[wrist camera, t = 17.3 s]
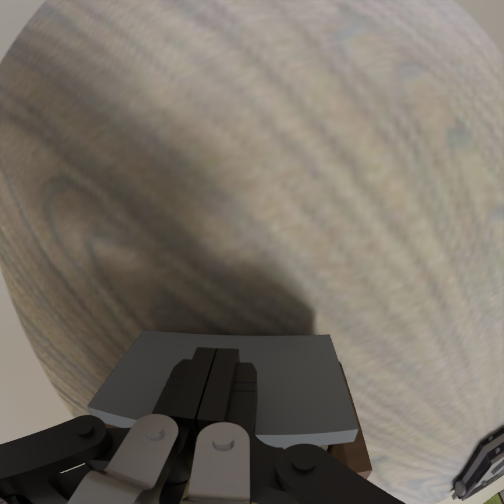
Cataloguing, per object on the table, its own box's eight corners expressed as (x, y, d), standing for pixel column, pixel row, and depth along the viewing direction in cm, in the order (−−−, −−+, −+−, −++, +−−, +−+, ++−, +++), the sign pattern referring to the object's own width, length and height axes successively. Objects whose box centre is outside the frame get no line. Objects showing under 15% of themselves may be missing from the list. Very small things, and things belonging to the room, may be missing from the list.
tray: (306, 463, 17) (310, 528, 11) (182, 457, 18) (164, 517, 12) (329, 334, 14) (358, 428, 7) (143, 329, 14) (87, 406, 8)
